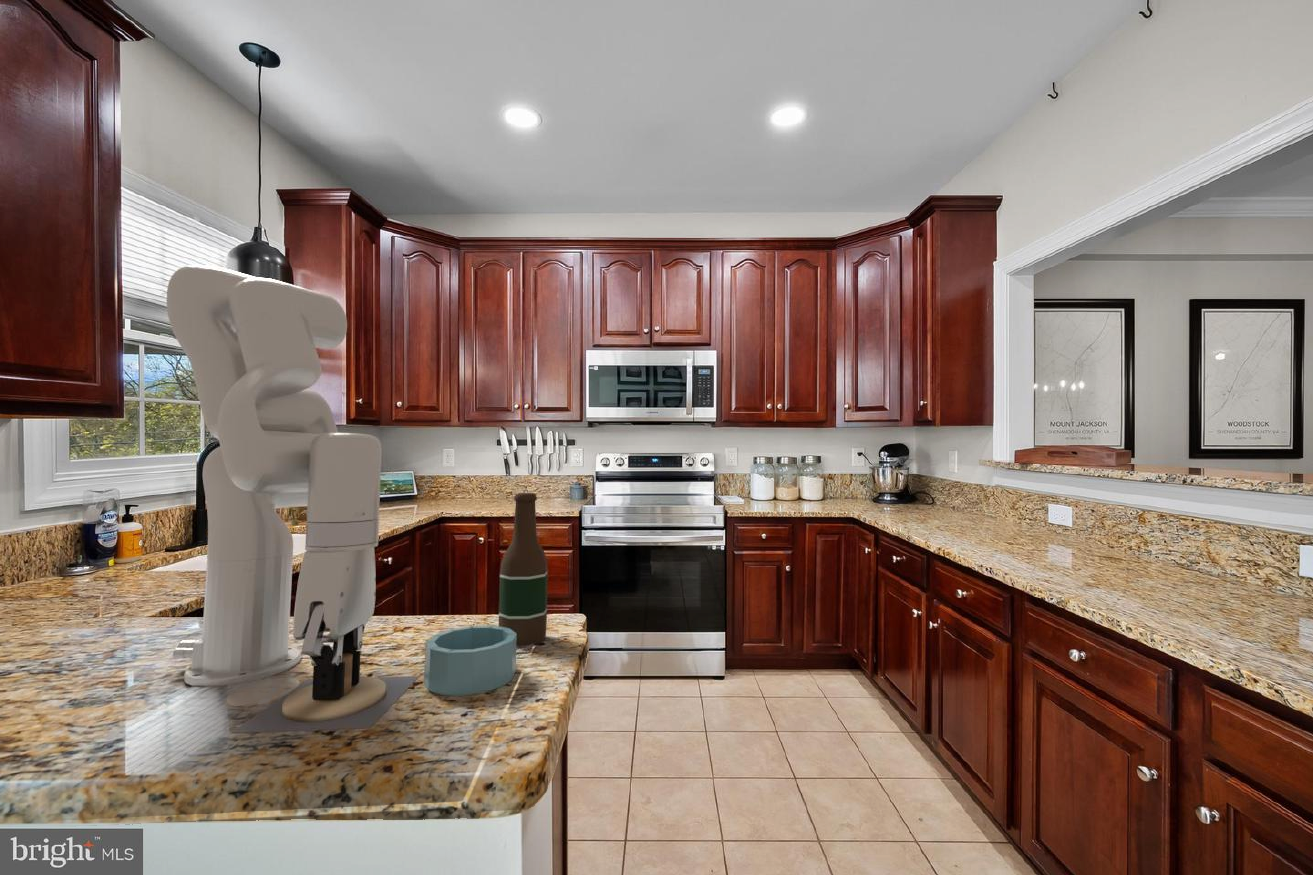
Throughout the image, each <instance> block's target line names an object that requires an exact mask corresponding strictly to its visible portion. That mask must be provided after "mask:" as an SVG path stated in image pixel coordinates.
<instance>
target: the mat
mask: <svg viewBox="0 0 1313 875" xmlns="http://www.w3.org/2000/svg"><path fill="white" fill-rule="evenodd" d="M374 678H378V679H381V680H382V681H384V682H385V684H386V693H385V696H384V697H383V699H382V700H380V701H379V702H378V703H376V704H375V705H373V706H371V707H369V708H367V709H365V710H363V711H360V712H358V713H355V714H352V715H348V716H345V717H341V718H336V719H331V720H325V721H315V722H300V721H293V720H289V719H287V718H285V717H284V716H283V714H282V705H283V702H284V700H285V699H286V698H287V697H288V696H289V695H291V694H293V693H294V692H296V691H298V690H300V689H302V688H305V687H307V686H310V685H313V678H308V679H306V680H305V681H303V682H302V683H301V684H299V685H297V686H296V687H295V688H293V689H292V690H290V691H289V692H288V693H286V694H284V695H282V697H279V699H277V700H276V701H274V702H273V703H271V704H269V705H268V706H267V707H265V708H264V709H263V710H261V711H259V712H258V713H257V714H255V715H253V717H251V718H249V719H248V720H246V721H245V722H244V723H242V724H241V725H239V726H238V727H236V728H235V729H233V730H232V731H230V732H229V734H248V733H250V734H252V733H255V734H256V733H279V732H282V733H283V732H306V731H307V732H308V731H309V732H310V731H331V730H332V731H335V730H337V731H338V730H362V729H363V730H365V729H367V730H368V729H372V727H373V726H374V725H375V724H376V723H378V721H379V720H380V719H381V718H382V717H383V716H384V715H385V714H386V713H387V712H388V710H389V709H390V708H392V706H393V705H394V704H395V703H396V702H398V700H399V699H400V698H401V697H402V696H403V695H404V693H405V692H406V691H408V690H409V688H411V686H412V685H413V684H414V682H416V680H418V678H420V676H419V675H413V676H412V675H411V676H410V675H408V676H407V675H406V676H374Z"/></svg>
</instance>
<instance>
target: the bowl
mask: <svg viewBox="0 0 1313 875" xmlns="http://www.w3.org/2000/svg"><path fill="white" fill-rule="evenodd" d="M516 640H517V634H516V633H515V632H514V631H512V630H511V629H510V628H505V627H499V625H498V626H497V625H469V626H463V627H456V628H452V629H451V628H450V629H448V630H444V631H442V632H439V633H436V634H434V635H432V636H431V637H429V639H428V640H426V642H425V643H424V645H425V646H424V647H425V648H424V672H423V673H424V674H423V676H424V677H423V678H424V679H423V683H424V684H425V687H426V689H427V690H428V691H429V692H431V693H433V694H437V695H441V696H447V697H456V696H457V697H462V696H464V697H465V696H473V695H479V694H483V693H488V692H491V691H494V690H497V689H499V688H501V687H504V686H506V685H507V684H508V683H510V682H511V681H512V680H513V679H514V677H515V673H516V672H517V646H516Z"/></svg>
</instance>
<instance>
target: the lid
mask: <svg viewBox="0 0 1313 875" xmlns="http://www.w3.org/2000/svg"><path fill="white" fill-rule="evenodd" d="M352 659H353V655H352V654H350V653H342V660H341V662H345V676H344V695H343V697H342V698H340V699H338V700H313V698H312V689H313V685H310V686H307V687H305V688H302V689H300V690H298V691H296V692H294V693H293V694H291V695H289V696H288V697H287V698H286V699H285V700H284V702H283V705H282V714H283V716H284V717H285V718H287V719H289V720H293V721H300V722H315V721H325V720H331V719H336V718H341V717H345V716H348V715H352V714H355V713H358V712H360V711H363V710H365V709H367V708H369V707H371V706H373V705H375V704H376V703H378V702H379V701H380V700H382V699H383V697H384V696H385V693H386V684H385V682H384V681H382V680H381V679H378V678H374V677H375V676H374V677H373V676H360V678H359V683H358V684H357V685H356V686H351V682H352Z"/></svg>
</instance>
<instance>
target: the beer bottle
mask: <svg viewBox="0 0 1313 875" xmlns="http://www.w3.org/2000/svg"><path fill="white" fill-rule="evenodd" d="M513 500H514V501H515V508H514V509H515V510H514V520H513V522H514V523H513V534H512V538H511V542H510V544H509V546H508V547H507V549H506V551H505V552H504V553H503V556H502V560H501V562H500V569H499V595H498V599H499V600H498V626H499V627H505V628H510V629H511V630H512V631H514V632H515V633H516V634H517V640H516V647H517V646H520V647H521V646H531V645H532V646H537V645H540V644H541V645H542V644H543V642H544V640H545V637H546V635H547V625H548V623H547V618H548V572H549V571H548V558H547V555H546V552H545V550H544V548H543V547H542V545H541V544H540V542H539V540H538V534H537V514H536V513H537V512H536V511H537V510H536V501H537V500H538V497H537V493H535V492H518V493H515V496H514V498H513Z"/></svg>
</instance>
